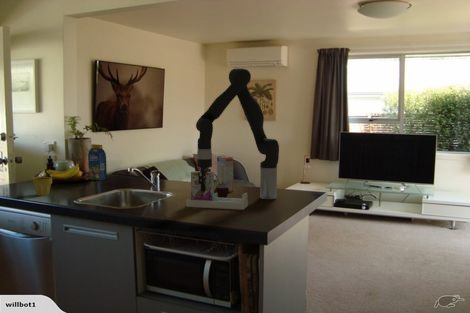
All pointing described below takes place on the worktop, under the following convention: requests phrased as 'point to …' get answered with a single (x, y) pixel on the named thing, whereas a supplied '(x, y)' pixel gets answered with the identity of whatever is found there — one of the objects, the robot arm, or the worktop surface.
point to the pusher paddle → (215, 198)
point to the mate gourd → (221, 189)
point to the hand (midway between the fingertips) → (204, 190)
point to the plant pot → (42, 185)
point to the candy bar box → (196, 187)
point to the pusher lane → (220, 203)
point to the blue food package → (97, 163)
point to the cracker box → (225, 171)
